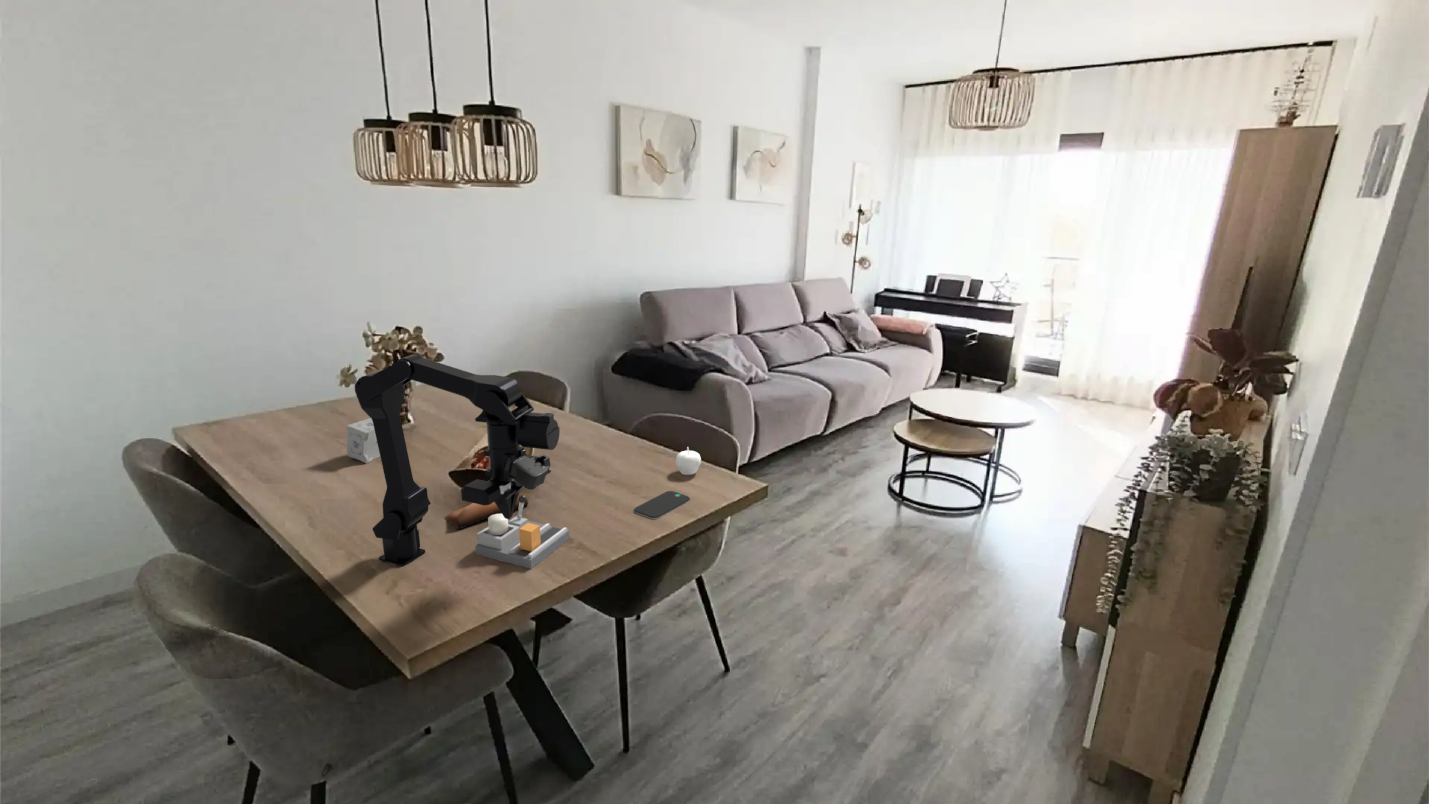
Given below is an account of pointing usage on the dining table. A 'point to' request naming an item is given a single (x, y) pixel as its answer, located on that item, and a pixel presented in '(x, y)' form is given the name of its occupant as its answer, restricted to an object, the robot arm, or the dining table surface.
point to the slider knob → (529, 537)
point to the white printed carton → (362, 441)
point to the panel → (509, 543)
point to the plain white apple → (688, 462)
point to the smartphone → (661, 505)
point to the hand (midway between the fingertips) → (508, 518)
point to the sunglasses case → (475, 513)
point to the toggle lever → (521, 505)
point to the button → (498, 524)
